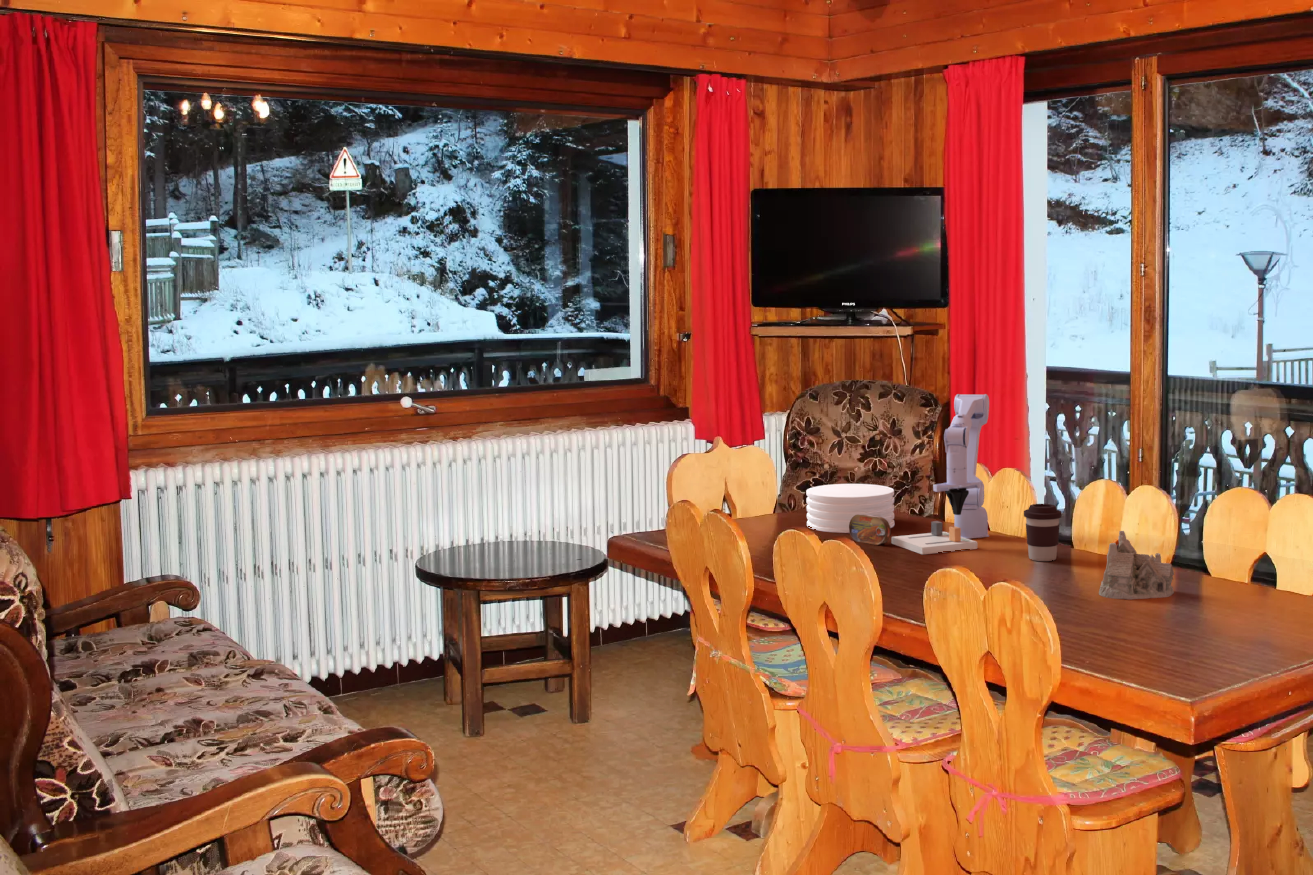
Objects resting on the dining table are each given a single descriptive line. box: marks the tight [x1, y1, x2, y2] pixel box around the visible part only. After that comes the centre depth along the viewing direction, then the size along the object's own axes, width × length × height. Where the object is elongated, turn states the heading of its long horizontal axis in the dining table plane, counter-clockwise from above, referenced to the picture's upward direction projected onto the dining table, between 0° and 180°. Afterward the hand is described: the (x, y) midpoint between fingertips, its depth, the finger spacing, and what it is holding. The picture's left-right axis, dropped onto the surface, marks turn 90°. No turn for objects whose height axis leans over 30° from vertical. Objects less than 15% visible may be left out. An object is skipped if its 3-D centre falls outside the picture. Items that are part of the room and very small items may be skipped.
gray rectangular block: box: [930, 520, 943, 536], centre depth 380 cm, size 2×3×4 cm, turn 18°
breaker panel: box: [890, 531, 978, 555], centre depth 374 cm, size 18×18×2 cm
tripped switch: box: [948, 526, 961, 542], centre depth 370 cm, size 2×3×4 cm, turn 18°
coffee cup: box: [1023, 503, 1062, 562], centre depth 351 cm, size 10×10×15 cm
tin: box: [849, 515, 891, 546], centre depth 382 cm, size 15×3×8 cm, turn 37°
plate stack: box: [805, 483, 895, 534], centre depth 412 cm, size 28×28×12 cm
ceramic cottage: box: [1098, 530, 1175, 600], centre depth 310 cm, size 16×16×15 cm
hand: (957, 514), depth 372 cm, fingers closed
